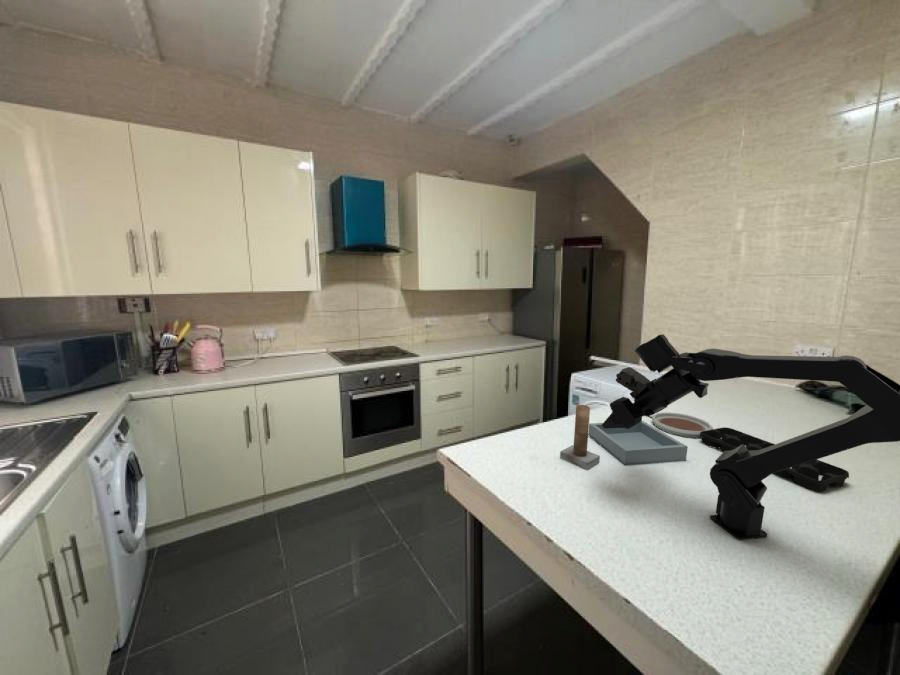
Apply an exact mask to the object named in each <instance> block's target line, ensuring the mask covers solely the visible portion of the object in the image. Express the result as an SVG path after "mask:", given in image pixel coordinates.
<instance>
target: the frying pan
mask: <svg viewBox="0 0 900 675" xmlns="http://www.w3.org/2000/svg"><path fill="white" fill-rule="evenodd" d="M649 417H650V418H651V420H652V422H653V425H654V424H655V425H654V427H656V426H657V427H658V428H657V427H656V428H657V429H659V428H660V429H662V430H661V431H663V430H664V431H663V432H665V431H666V432H665V433H667V432H669V433H668V434H671V435H674V434H675V435H674V436H678V435H680V436H679V437H682V436H684V437H683V438H690V437H692V438H691V439H701V438H702V437H701V436H700V432H701V431H707V430H712V429H714V428H713V426H712V425H711V424H710V423H709V422H708V421H706V420H704V419H701V418H700V417H696V416H693V415H688V414H684V413H680V412H679V413H678V412H670V411H669V412H666V411H665V412H663V411H662V412H658V413H655V414H653V415H650V416H649ZM660 429H659V430H660Z"/></svg>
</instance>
